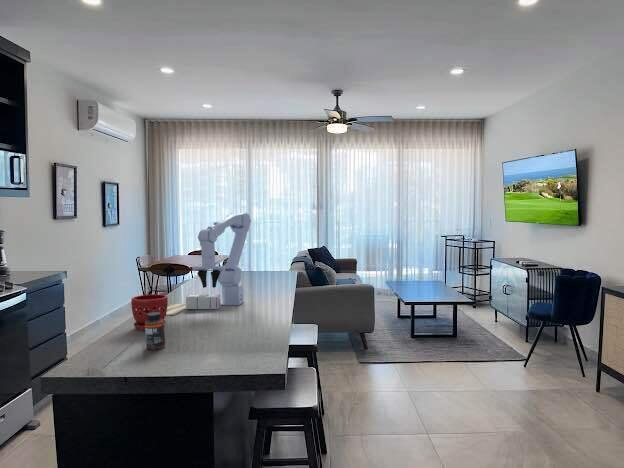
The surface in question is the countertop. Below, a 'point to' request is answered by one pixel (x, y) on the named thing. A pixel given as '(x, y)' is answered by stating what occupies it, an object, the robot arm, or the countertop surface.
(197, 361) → the countertop surface
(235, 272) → the robot arm
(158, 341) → the supplement bottle
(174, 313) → the wooden board
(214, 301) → the syrup box
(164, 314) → the plant pot
